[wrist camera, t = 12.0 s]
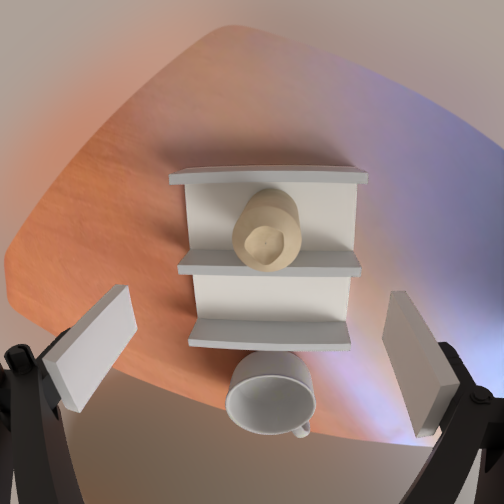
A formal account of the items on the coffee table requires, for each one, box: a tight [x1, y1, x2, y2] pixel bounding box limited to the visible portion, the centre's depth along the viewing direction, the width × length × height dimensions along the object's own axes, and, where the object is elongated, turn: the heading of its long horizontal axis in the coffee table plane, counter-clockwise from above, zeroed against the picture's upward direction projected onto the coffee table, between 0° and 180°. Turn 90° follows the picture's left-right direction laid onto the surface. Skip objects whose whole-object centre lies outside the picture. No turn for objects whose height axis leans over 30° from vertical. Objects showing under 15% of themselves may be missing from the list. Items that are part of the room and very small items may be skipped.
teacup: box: [225, 350, 316, 438], centre depth 39 cm, size 14×11×8 cm
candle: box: [232, 189, 302, 272], centre depth 29 cm, size 6×6×10 cm
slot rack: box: [169, 165, 368, 351], centre depth 33 cm, size 18×19×6 cm
